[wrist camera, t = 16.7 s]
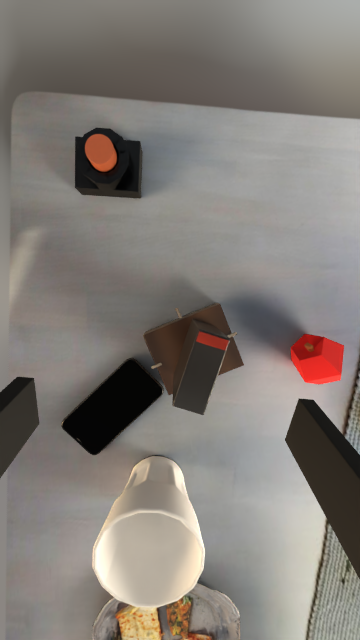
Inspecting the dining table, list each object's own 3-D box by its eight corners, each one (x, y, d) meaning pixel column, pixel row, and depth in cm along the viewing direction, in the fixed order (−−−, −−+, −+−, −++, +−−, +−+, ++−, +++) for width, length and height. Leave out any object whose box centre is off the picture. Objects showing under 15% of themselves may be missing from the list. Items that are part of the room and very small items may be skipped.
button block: (81, 195, 32) (68, 181, 28) (82, 146, 31) (68, 125, 27) (140, 199, 32) (136, 185, 28) (142, 151, 32) (137, 130, 28)
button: (90, 171, 28) (84, 163, 27) (90, 142, 28) (84, 132, 26) (116, 173, 28) (113, 165, 27) (117, 144, 28) (113, 134, 26)
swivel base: (169, 397, 35) (169, 407, 32) (137, 323, 34) (133, 326, 31) (245, 367, 35) (252, 374, 32) (215, 290, 34) (220, 290, 31)
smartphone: (131, 354, 34) (60, 422, 35) (130, 355, 34) (57, 425, 34) (166, 389, 35) (95, 455, 36) (166, 391, 34) (93, 459, 35)
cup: (211, 492, 37) (226, 575, 26) (144, 529, 38) (131, 627, 27) (170, 428, 36) (167, 488, 25) (101, 468, 36) (68, 544, 25)
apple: (372, 376, 30) (351, 340, 26) (324, 405, 32) (298, 374, 28) (334, 345, 36) (313, 312, 32) (296, 370, 38) (271, 341, 34)
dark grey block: (195, 381, 32) (203, 416, 23) (173, 374, 32) (172, 407, 23) (214, 325, 31) (231, 339, 22) (192, 318, 31) (198, 328, 22)
